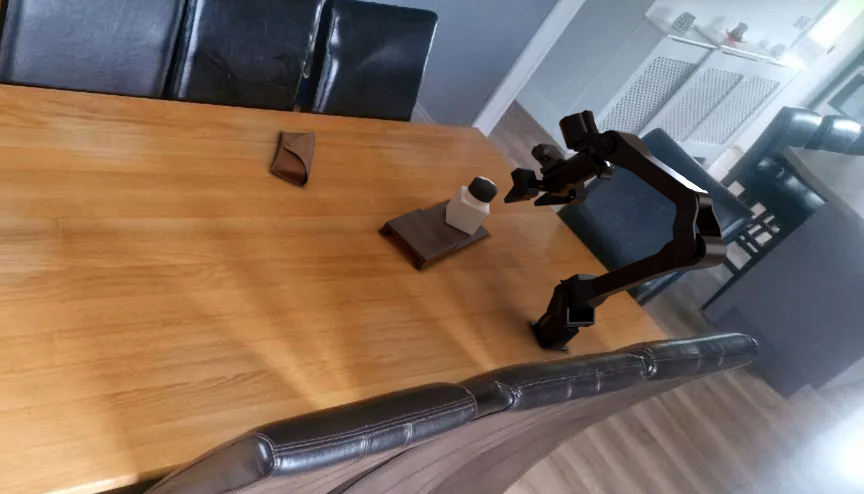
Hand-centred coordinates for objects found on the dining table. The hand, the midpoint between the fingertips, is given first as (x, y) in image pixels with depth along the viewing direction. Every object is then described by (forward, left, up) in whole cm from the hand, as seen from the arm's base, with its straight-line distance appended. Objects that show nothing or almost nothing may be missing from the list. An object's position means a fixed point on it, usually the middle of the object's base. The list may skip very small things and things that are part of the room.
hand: (519, 202), depth 155 cm
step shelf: (+1, +13, -14) cm, 19 cm away
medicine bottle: (+6, +5, -13) cm, 15 cm away
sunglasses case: (+19, +46, -14) cm, 51 cm away
